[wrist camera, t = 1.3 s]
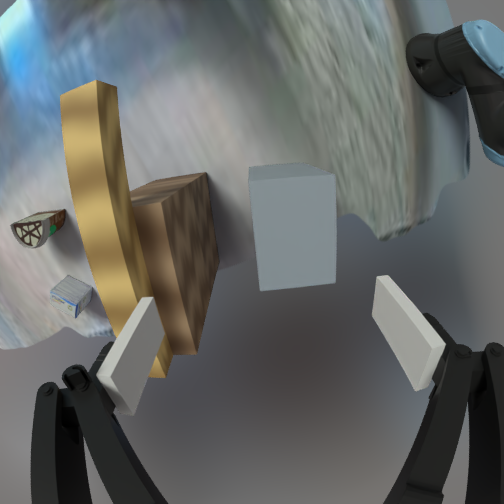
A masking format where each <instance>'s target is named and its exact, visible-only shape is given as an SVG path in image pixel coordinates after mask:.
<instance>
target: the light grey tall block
mask: <svg viewBox="0 0 504 504" xmlns="http://www.w3.org/2000/svg"><path fill="white" fill-rule="evenodd" d="M248 183H249V192H250V201H251V211H252V220H253V230H254V239H255V249H256V258H257V267H258V277H259V287H260V291H267V290H278V289H286V288H297V287H306V286H315V285H323V284H331V283H336V247H337V245H336V243H337V242H336V241H337V238H336V237H337V227H336V226H337V224H336V184H335V175H334V174H332V173H329V172H327V171H324V170H322V169H319V168H316V167H314V166H311V165H308V164H306V163H290V164H277V165H265V166H254V167H249V179H248Z"/></svg>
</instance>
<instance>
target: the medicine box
mask: <svg viewBox="0 0 504 504" xmlns="http://www.w3.org/2000/svg"><path fill="white" fill-rule="evenodd" d="M91 295H92V287H91V286H89V285H87V284H85V283H83V282H81V281H79V280H77V279H75V278H73V277H71V276H69V275H67V276H66V277H65V278H64V279H63V280H61V281H60V282H59V283H58V284H57V285H56V286H55V287H54V288H52V289H51V290H50V304H51V305H52V306H53V307H55V308H57V309H59V310H61V311H62V312H64V313H66V314H68V315H70V316H72V317H74V318H77V316H78V315H79V314H80V313H81V312H82V310H83V309H84V308H85V307H86V306H87V304H88V303H89V302H90V301H91Z"/></svg>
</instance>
